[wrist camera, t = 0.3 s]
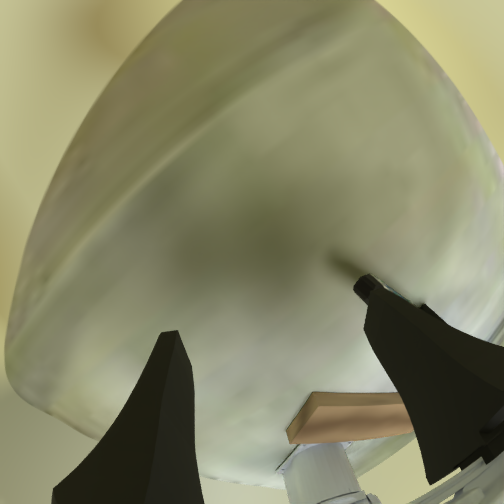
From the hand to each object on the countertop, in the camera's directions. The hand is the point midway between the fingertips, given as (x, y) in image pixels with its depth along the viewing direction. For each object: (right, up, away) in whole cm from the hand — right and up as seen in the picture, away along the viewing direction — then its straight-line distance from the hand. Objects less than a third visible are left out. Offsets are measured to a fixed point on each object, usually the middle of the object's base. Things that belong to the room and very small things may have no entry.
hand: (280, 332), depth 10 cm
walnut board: (+13, -17, +19) cm, 29 cm away
